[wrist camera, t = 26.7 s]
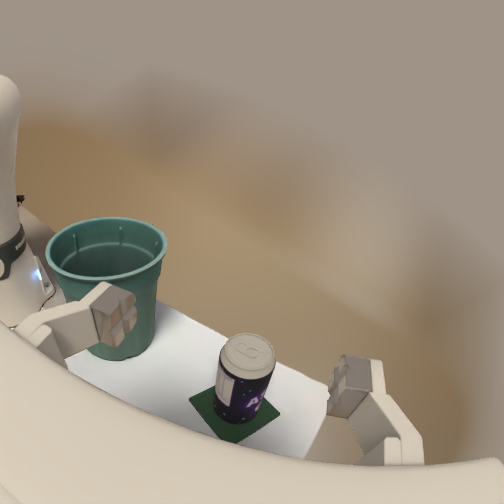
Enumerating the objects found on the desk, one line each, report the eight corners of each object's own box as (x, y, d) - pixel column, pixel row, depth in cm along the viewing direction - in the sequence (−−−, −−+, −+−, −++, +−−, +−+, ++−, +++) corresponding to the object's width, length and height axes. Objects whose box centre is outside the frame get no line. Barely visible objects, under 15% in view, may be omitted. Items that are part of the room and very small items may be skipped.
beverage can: (242, 434, 29) (261, 382, 24) (203, 411, 31) (208, 353, 26) (264, 404, 34) (287, 345, 28) (228, 384, 36) (240, 322, 30)
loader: (24, 194, 72) (25, 208, 73) (18, 194, 73) (19, 207, 74) (-3, 199, 61) (-2, 214, 62) (-8, 199, 62) (-7, 213, 63)
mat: (188, 399, 33) (188, 398, 33) (239, 374, 38) (239, 372, 38) (228, 448, 28) (228, 447, 28) (279, 415, 33) (280, 413, 33)
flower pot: (134, 288, 51) (130, 207, 43) (189, 341, 42) (194, 250, 35) (56, 320, 39) (34, 233, 31) (98, 391, 30) (66, 298, 23)
